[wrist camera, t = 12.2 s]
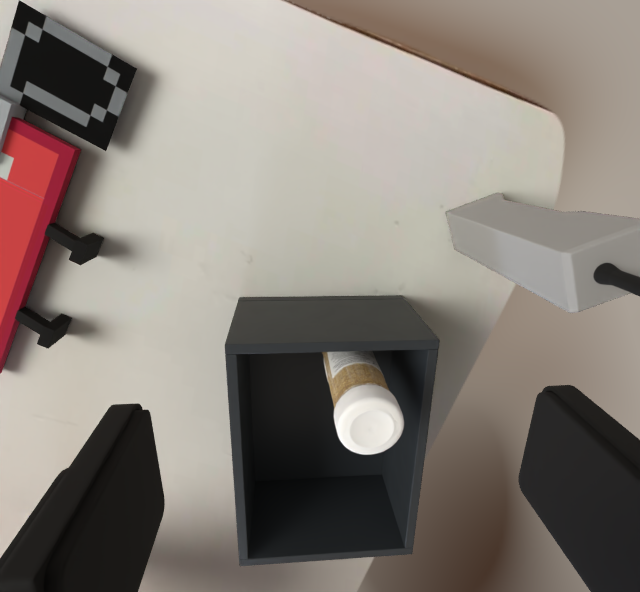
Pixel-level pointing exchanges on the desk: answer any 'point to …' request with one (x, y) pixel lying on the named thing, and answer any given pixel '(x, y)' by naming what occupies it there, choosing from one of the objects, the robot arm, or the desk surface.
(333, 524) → the wastebin
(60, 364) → the desk surface
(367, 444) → the sprinkles bottle
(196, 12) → the desk surface
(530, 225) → the vintage mobile phone
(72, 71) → the red board with handle
